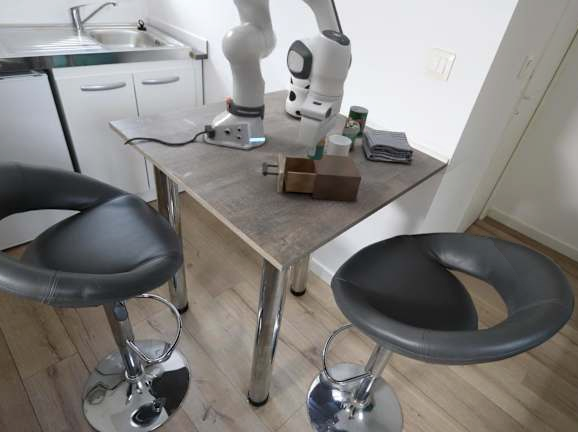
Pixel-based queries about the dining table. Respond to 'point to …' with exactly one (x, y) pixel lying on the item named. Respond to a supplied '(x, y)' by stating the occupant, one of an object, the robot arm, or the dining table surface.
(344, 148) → the white cup
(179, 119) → the dining table surface
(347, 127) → the food container
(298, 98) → the milk container
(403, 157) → the towel
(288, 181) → the drawer
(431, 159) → the dining table surface
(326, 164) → the cabinet
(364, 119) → the canned tomato
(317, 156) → the tea tin
